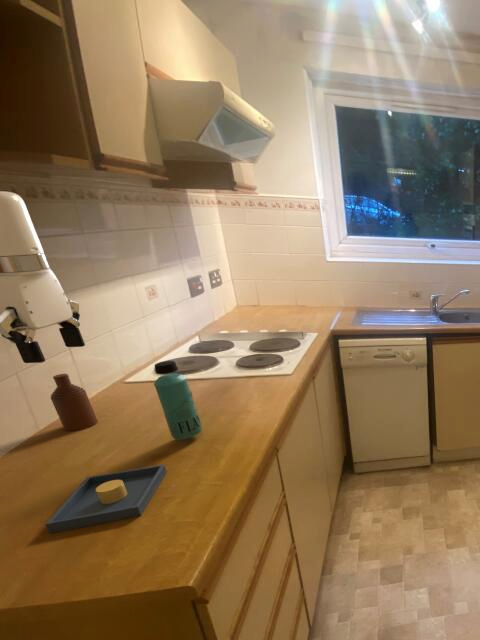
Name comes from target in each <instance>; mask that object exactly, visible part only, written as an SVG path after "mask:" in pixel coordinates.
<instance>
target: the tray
mask: <svg viewBox="0 0 480 640" xmlns="http://www.w3.org/2000/svg"><path fill="white" fill-rule="evenodd" d="M166 474H168V470H167V468H166V465H165V464H159V465H152V466H147V467H140V468H134V469H128V470H120V471H116V472H109V473H104V474H97V475H92V476H86V478H85V479H84V480H83V481H82V482H81V483H80V484H79V486H78V487H77V488H76V489H75V490H74V491H73V492H72V493H71V495H70V496H69V497H68V498H67V499H66V500H65V502H64V503H63V504H61V506H60V507H59V508H58V509H57V510H56V512H54V514H53V515H52V516H51V517H50V518H49V520H48V521H47V522H46V523H45V526H46V530H47V531H48V533H49V534H54V533H59V532H64V531H69V530H73V529H74V530H75V529H79V528H85V527H90V526H95V525H101V524H105V523H111V522H114V521H121V520H125V519H130V518H135V517H141V516H142V514H143V513H144V512H145V510H146V508H147V506H148V505H149V503H150V501H151V500H152V499H153V496H154V495H155V493H156V492H157V490H158V488H159V486H160V485H161V483H162V481H163V480H164V478H165V476H166ZM112 480H122V481H123V483H124V485H125V488H126V490H127V493H128V494H127V496H126V497H125V498H123V499H121V500H119V501H117V502H114V503H110V504H103V503H101V501H100V499H99V497H98V495H97V492H96V488H97V487H98V486H100V485H101V484H103V483H106V482H108V481H112Z"/></svg>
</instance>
